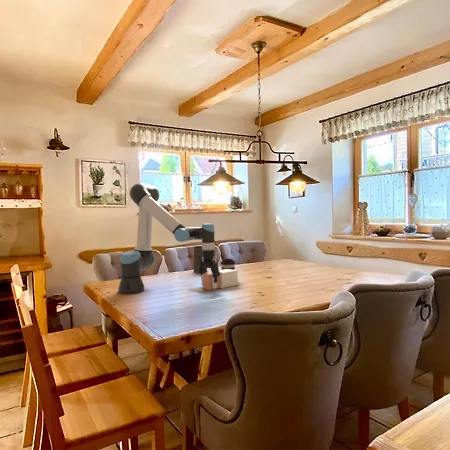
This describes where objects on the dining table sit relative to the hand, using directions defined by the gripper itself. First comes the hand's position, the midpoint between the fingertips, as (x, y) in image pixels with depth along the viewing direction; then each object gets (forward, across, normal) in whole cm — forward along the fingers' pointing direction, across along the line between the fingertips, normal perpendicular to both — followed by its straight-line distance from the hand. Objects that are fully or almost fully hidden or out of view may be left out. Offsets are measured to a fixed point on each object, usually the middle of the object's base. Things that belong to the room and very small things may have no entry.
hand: (209, 286), depth 213 cm
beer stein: (+2, +53, -36) cm, 64 cm away
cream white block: (+1, 0, -12) cm, 13 cm away
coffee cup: (+2, +10, -24) cm, 26 cm away
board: (+2, 0, -4) cm, 4 cm away
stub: (+1, 0, -2) cm, 2 cm away
